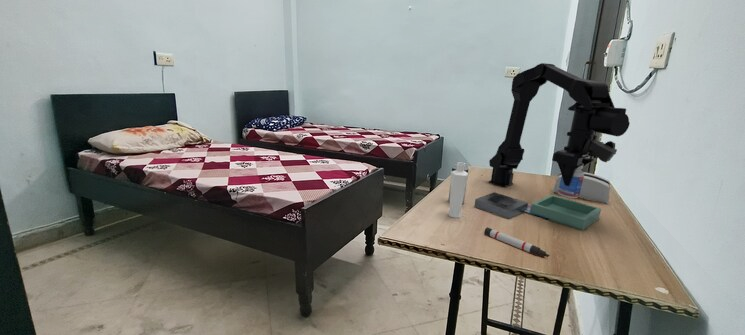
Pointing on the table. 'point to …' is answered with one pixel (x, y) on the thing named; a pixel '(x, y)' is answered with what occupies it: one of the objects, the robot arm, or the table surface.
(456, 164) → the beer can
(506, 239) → the marker
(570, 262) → the table surface
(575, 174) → the pill bottle
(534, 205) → the tray
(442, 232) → the table surface
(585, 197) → the napkin holder
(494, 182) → the robot arm
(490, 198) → the gray square holder
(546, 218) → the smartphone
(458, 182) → the perfume bottle
